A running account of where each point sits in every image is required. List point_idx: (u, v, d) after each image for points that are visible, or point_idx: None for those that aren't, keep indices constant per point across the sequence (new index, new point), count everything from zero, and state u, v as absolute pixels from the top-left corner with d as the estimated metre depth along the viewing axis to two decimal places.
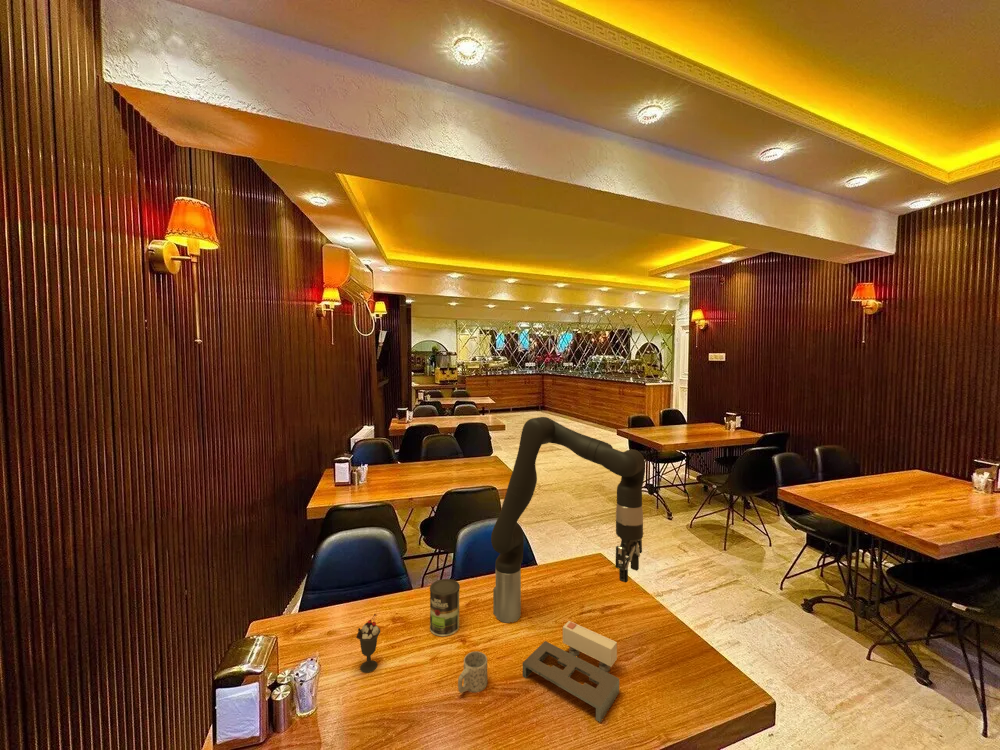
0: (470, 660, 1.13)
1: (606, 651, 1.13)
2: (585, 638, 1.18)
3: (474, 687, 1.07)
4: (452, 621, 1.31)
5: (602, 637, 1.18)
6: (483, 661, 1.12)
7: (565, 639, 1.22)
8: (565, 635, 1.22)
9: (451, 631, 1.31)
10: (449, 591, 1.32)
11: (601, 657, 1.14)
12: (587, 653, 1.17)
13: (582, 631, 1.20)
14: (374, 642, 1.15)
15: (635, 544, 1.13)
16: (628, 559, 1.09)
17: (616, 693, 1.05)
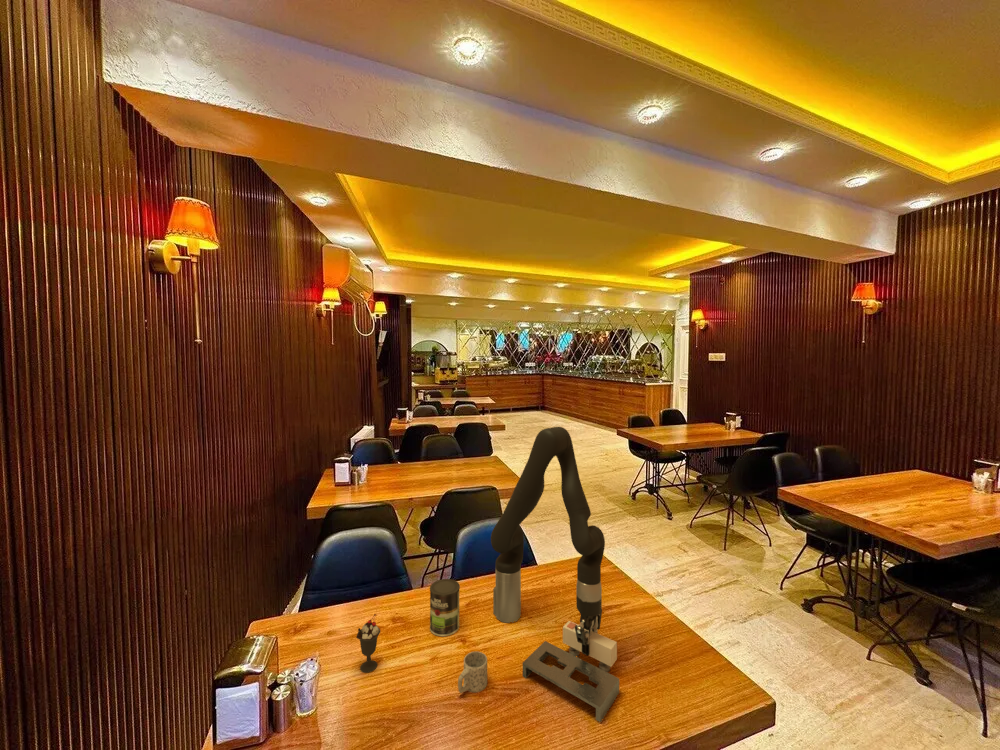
0: (470, 660, 1.13)
1: (606, 651, 1.13)
2: None
3: (474, 687, 1.07)
4: (452, 621, 1.31)
5: (602, 637, 1.18)
6: (483, 661, 1.12)
7: (565, 639, 1.22)
8: (565, 635, 1.22)
9: (451, 631, 1.31)
10: (449, 591, 1.32)
11: (601, 657, 1.14)
12: None
13: None
14: (374, 642, 1.15)
15: (594, 617, 1.19)
16: (588, 635, 1.16)
17: (616, 693, 1.05)
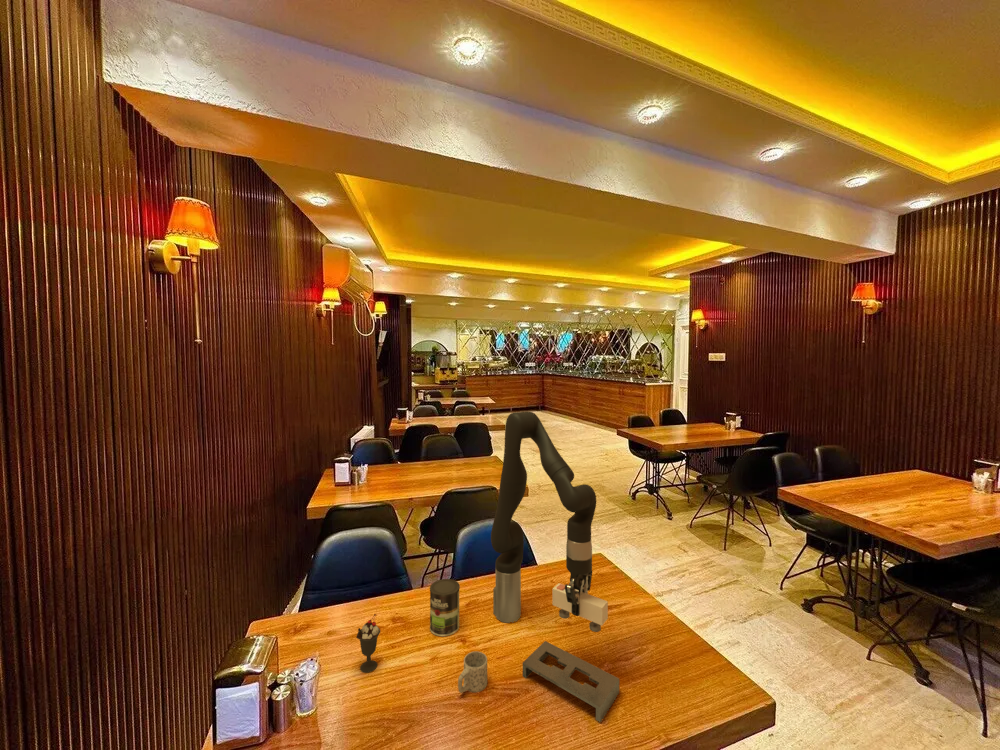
0: (470, 660, 1.13)
1: (596, 610, 1.10)
2: None
3: (474, 687, 1.07)
4: (452, 621, 1.31)
5: (593, 597, 1.14)
6: (483, 661, 1.12)
7: (555, 601, 1.19)
8: (555, 597, 1.19)
9: (451, 631, 1.31)
10: (449, 591, 1.32)
11: (591, 617, 1.11)
12: None
13: None
14: (374, 642, 1.15)
15: (585, 576, 1.15)
16: (578, 594, 1.13)
17: (616, 693, 1.05)
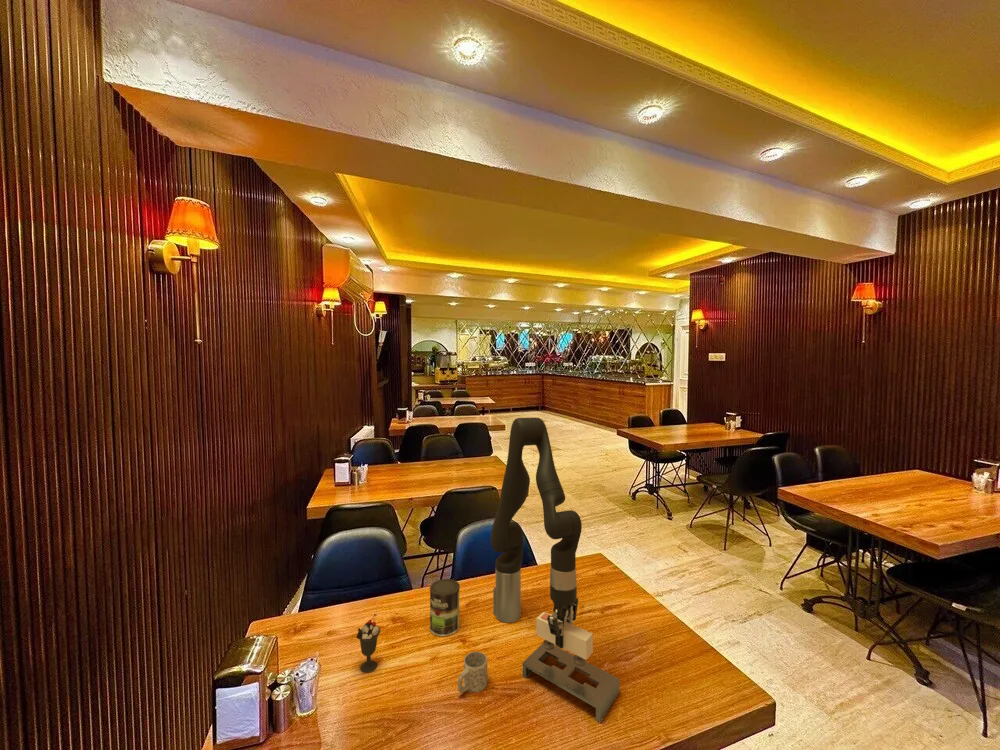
0: (470, 660, 1.13)
1: (580, 643, 1.05)
2: (559, 629, 1.10)
3: (474, 687, 1.07)
4: (452, 621, 1.31)
5: (577, 628, 1.10)
6: (483, 661, 1.12)
7: (539, 631, 1.14)
8: (539, 627, 1.14)
9: (451, 631, 1.31)
10: (449, 591, 1.32)
11: (575, 650, 1.06)
12: None
13: None
14: (374, 642, 1.15)
15: (569, 607, 1.11)
16: (562, 626, 1.08)
17: (616, 693, 1.05)
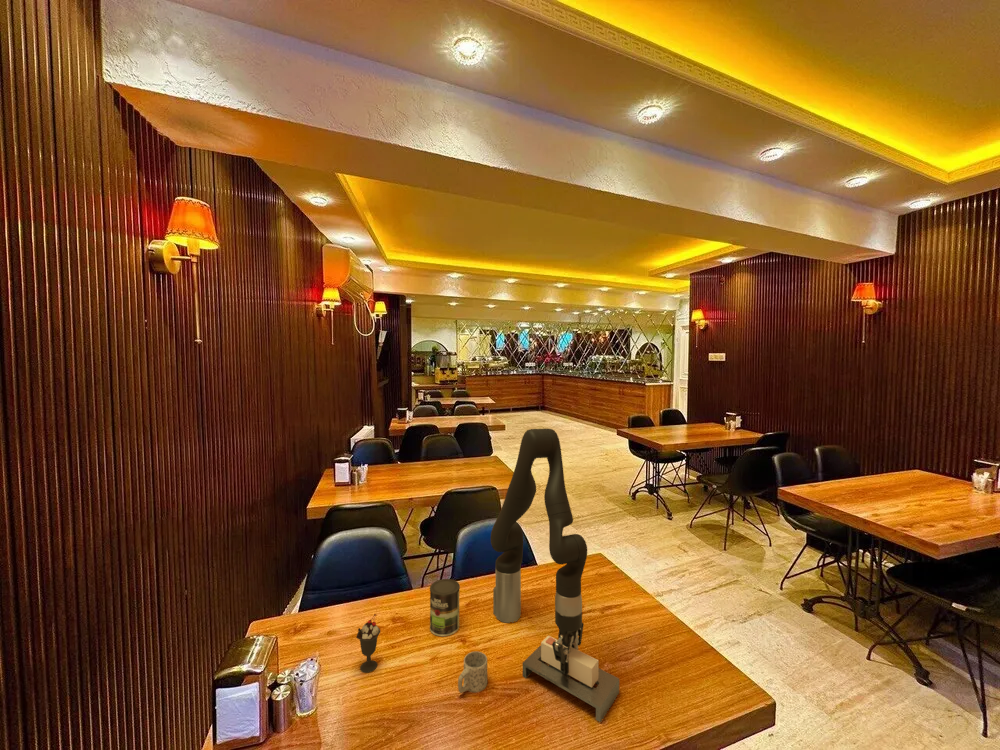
0: (470, 660, 1.13)
1: (586, 671, 1.04)
2: None
3: (474, 687, 1.07)
4: (452, 621, 1.31)
5: (583, 654, 1.08)
6: (483, 661, 1.12)
7: (543, 656, 1.13)
8: (543, 651, 1.13)
9: (451, 631, 1.31)
10: (449, 591, 1.32)
11: (581, 677, 1.05)
12: None
13: None
14: (374, 642, 1.15)
15: (574, 632, 1.09)
16: (567, 652, 1.07)
17: (616, 693, 1.05)
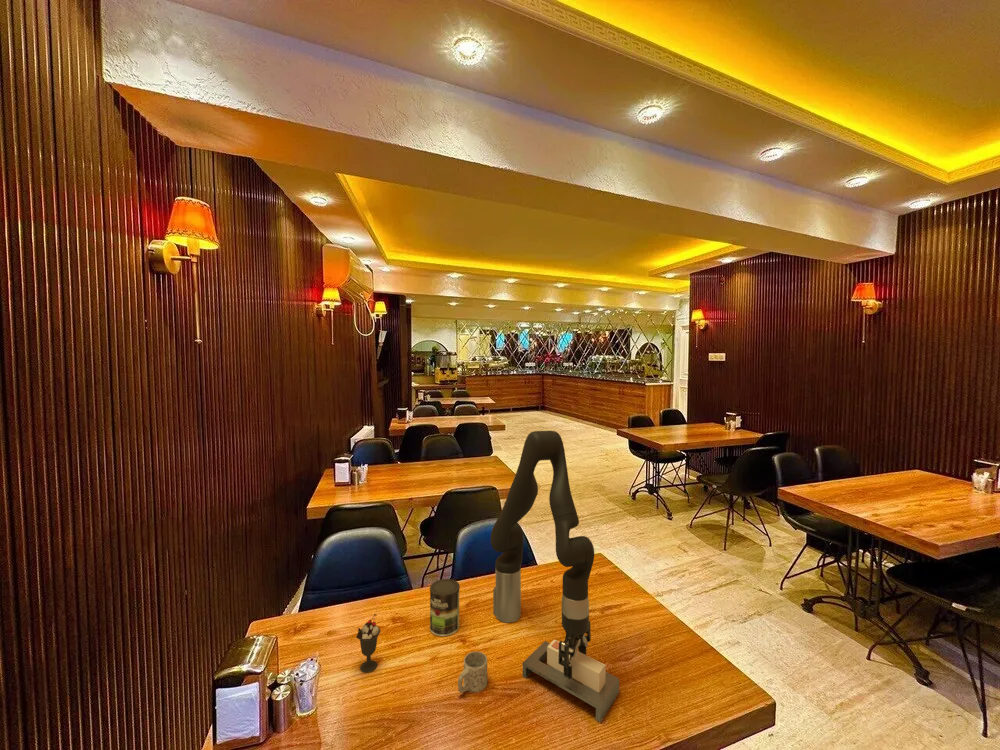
0: (470, 660, 1.13)
1: (593, 675, 1.03)
2: None
3: (474, 687, 1.07)
4: (452, 621, 1.31)
5: (589, 659, 1.07)
6: (483, 661, 1.12)
7: (550, 660, 1.11)
8: (550, 656, 1.11)
9: (451, 631, 1.31)
10: (449, 591, 1.32)
11: (588, 682, 1.04)
12: (573, 676, 1.07)
13: None
14: (374, 642, 1.15)
15: (581, 636, 1.08)
16: (572, 655, 1.05)
17: (616, 693, 1.05)
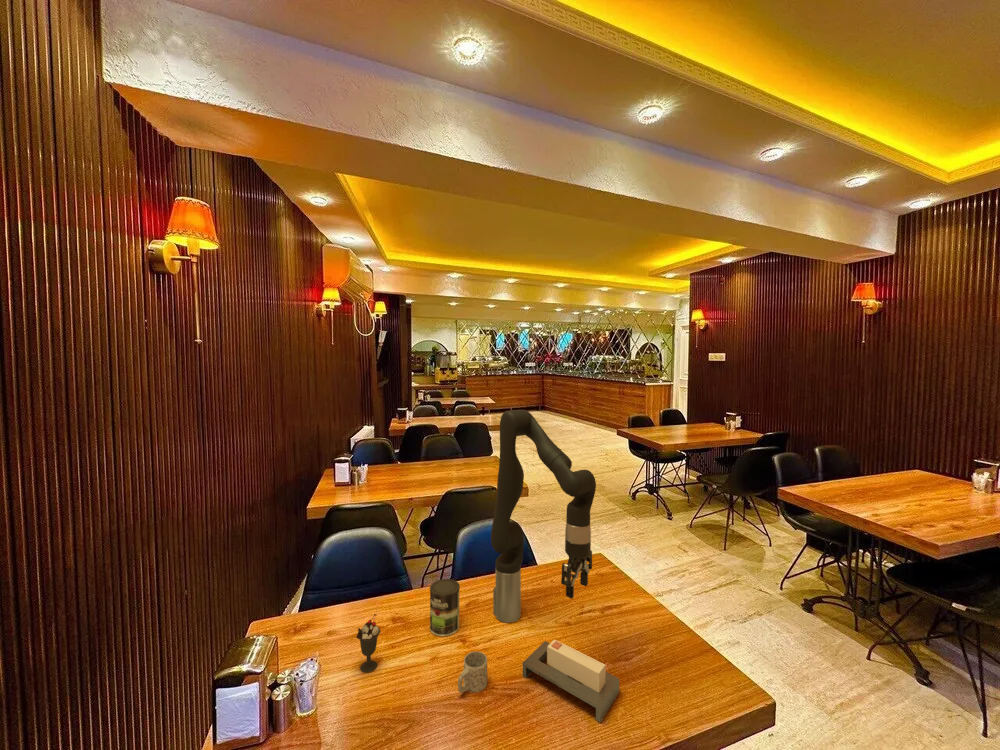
0: (470, 660, 1.13)
1: (593, 675, 1.03)
2: (571, 660, 1.07)
3: (474, 687, 1.07)
4: (452, 621, 1.31)
5: (589, 659, 1.07)
6: (483, 661, 1.12)
7: (550, 660, 1.11)
8: (550, 656, 1.11)
9: (451, 631, 1.31)
10: (449, 591, 1.32)
11: (588, 682, 1.04)
12: (573, 676, 1.07)
13: (568, 652, 1.10)
14: (374, 642, 1.15)
15: (583, 561, 1.16)
16: (574, 576, 1.13)
17: (616, 693, 1.05)
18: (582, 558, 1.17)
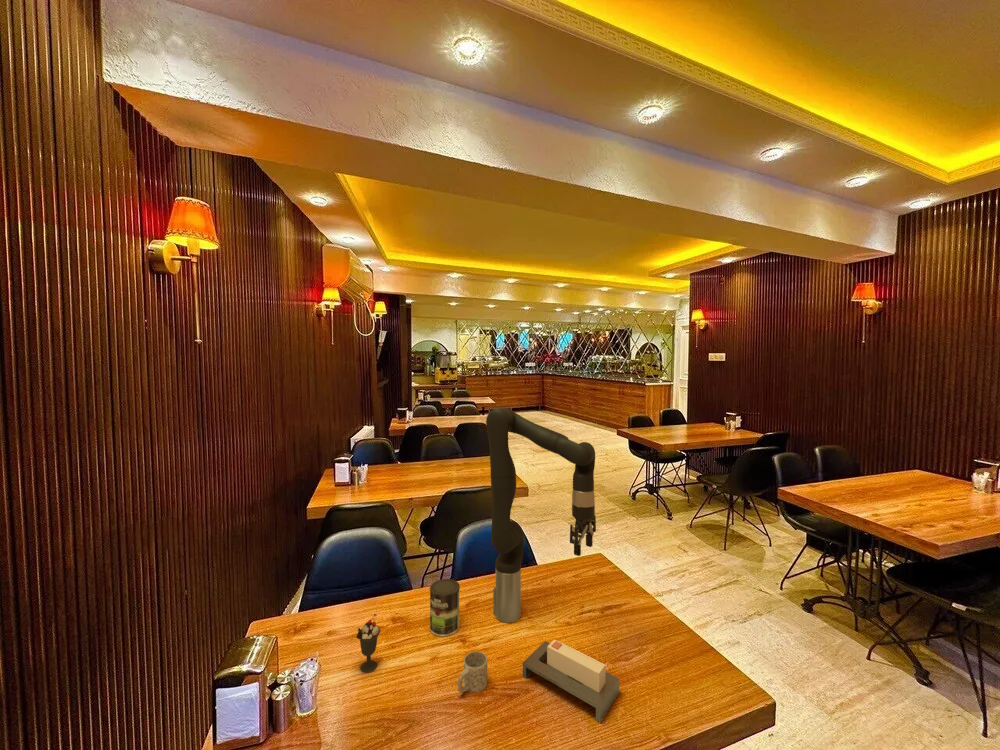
0: (470, 660, 1.13)
1: (593, 675, 1.03)
2: (571, 660, 1.07)
3: (474, 687, 1.07)
4: (452, 621, 1.31)
5: (589, 659, 1.07)
6: (483, 661, 1.12)
7: (550, 660, 1.11)
8: (550, 656, 1.11)
9: (451, 631, 1.31)
10: (449, 591, 1.32)
11: (588, 682, 1.04)
12: (573, 676, 1.07)
13: (568, 652, 1.10)
14: (374, 642, 1.15)
15: (588, 524, 1.31)
16: (581, 536, 1.27)
17: (616, 693, 1.05)
18: (587, 521, 1.31)
